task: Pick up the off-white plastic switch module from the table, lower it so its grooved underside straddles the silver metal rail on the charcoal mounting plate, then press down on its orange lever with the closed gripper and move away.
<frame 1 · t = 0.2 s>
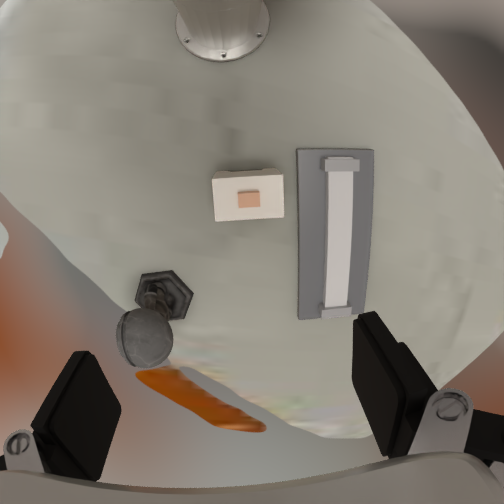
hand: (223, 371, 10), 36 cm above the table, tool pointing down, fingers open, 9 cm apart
module: (246, 187, 44), on the table
rail plate: (334, 237, 47), on the table
figurine: (163, 296, 49), on the table
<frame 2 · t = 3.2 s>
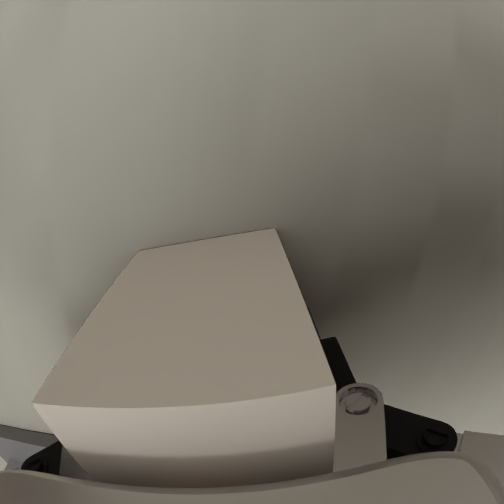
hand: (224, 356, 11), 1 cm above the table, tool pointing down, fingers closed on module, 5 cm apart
module: (225, 333, 13), on the table, touching gripper
rail plate: (151, 484, 17), on the table
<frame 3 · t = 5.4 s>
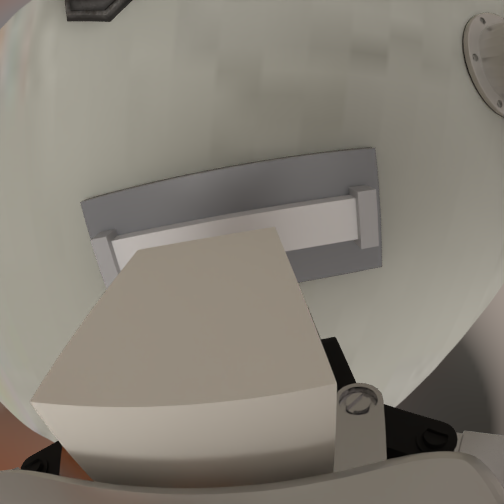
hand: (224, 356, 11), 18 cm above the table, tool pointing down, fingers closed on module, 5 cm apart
module: (225, 333, 13), point 16 cm above the table, touching gripper
rail plate: (233, 229, 28), on the table
when the fingers open (3 cm above the table, at t = 7.6 s): module stays where it is, resting on rail plate.
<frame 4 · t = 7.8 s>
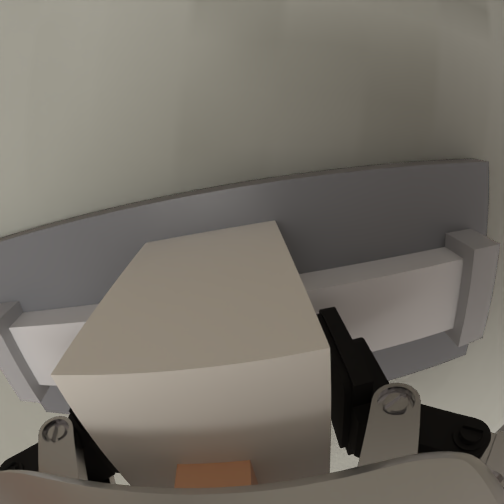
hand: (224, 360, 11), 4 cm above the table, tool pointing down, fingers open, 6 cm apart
module: (228, 322, 13), point 1 cm above the table, touching rail plate
rail plate: (226, 309, 14), on the table
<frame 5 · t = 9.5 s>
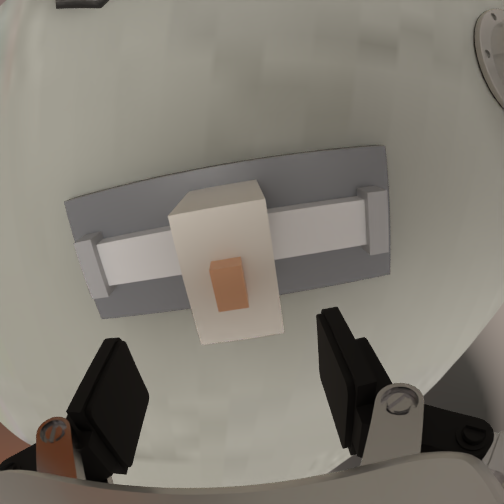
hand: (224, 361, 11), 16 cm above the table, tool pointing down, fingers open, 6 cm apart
module: (231, 236, 25), point 1 cm above the table, touching rail plate
rail plate: (230, 233, 26), on the table
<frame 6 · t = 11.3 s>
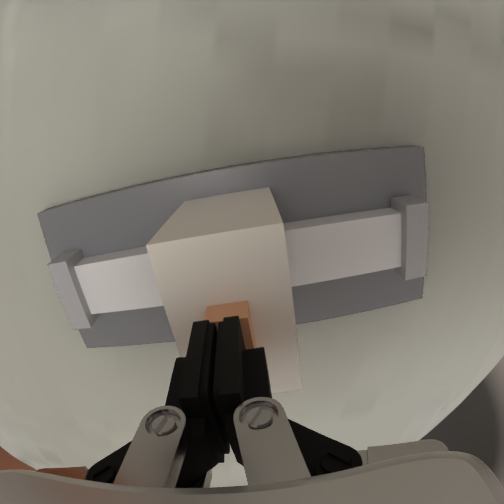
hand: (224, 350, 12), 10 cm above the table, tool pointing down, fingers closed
module: (238, 257, 20), point 1 cm above the table, touching gripper, rail plate
rail plate: (236, 251, 21), on the table
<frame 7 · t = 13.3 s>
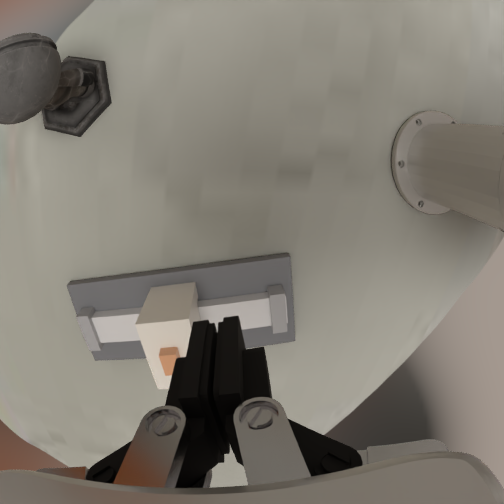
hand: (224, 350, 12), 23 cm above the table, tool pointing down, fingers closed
module: (180, 316, 36), point 1 cm above the table, touching rail plate
rail plate: (180, 311, 37), on the table
figurine: (73, 95, 28), on the table
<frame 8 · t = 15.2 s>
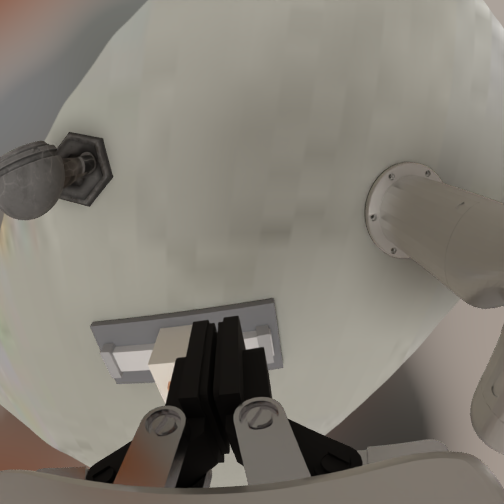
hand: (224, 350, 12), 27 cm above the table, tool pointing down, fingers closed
module: (185, 350, 42), point 1 cm above the table, touching rail plate
rail plate: (186, 345, 44), on the table
figurine: (79, 168, 35), on the table
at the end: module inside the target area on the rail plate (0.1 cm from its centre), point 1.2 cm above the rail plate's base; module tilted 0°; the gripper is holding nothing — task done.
